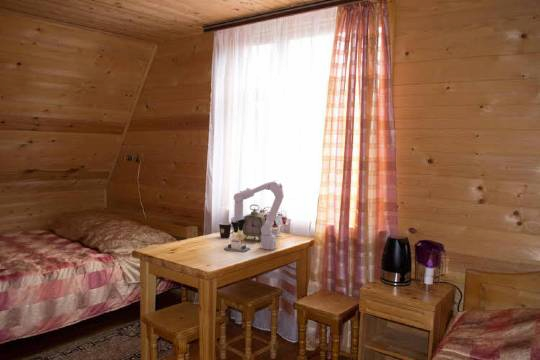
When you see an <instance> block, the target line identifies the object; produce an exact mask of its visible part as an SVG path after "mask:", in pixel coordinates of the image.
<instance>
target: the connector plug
mask: <svg viewBox="0 0 540 360" xmlns="http://www.w3.org/2000/svg"><path fill="white" fill-rule="evenodd" d="M230 244H231V248H234V249H240V248H241V247H242V240H241V239H232V240H231V243H230Z"/></svg>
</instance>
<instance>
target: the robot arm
mask: <svg viewBox="0 0 540 360" xmlns="http://www.w3.org/2000/svg"><path fill="white" fill-rule="evenodd" d="M265 190H266V191H267V190H268V191H271V193H273V195H274V197H275V198H274V200H273V203H272V205H271V208H270V211H269V213H268V216H267V217H266V219H265V224H264V225H263V226H262V227H261V232H262V233H261V236H260V239H261V241H260V246H259V247H258V249H262V250H264V249H265V250H270V251H272V250H274V249H276V248H277V235H275V234H273V232H272V231H273V230H274V223H275V219H276V217H277V214H278V212H279V210H280V207H281V204H282V203H283V199H284V191H283V185H282V183H281V182H280V181H279V180H274V181H269V182H265V183H264V184H263V183H262V184H261V185H258V186H256V187H254V188H251V187H246V189H244V190H240V191H239V192H236V193H235V194H234V195H233V200H234V205H233V206H234V209H233V210H234V212H233V213H234V215H233V216H232V220H231V222H230V223H231V226H233V227H232V228H233V229H232V230H233V231H234V232H233V233H234V234H235V233H238V231H240V232H241V231H242V232H243V226H244V223H245V221H246V220H244V216H245V215H244V200H247V199H250V198H253V197H254V195H255V194H256V193H259V192H262V191H265Z"/></svg>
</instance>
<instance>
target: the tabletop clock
mask: <svg viewBox="0 0 540 360" xmlns="http://www.w3.org/2000/svg"><path fill="white" fill-rule="evenodd" d="M252 206H255V207H258V208H257V209H256V208H251V207H252ZM249 209H250V210H251V212H250V213H249V214H246V215H243V216H244V220H246V221H245V223H244V226H243V230H242V234H243V235H244V236H245V237H244V238H243V239H244V240H245V241H246V240H247V238H248V237H253V240H256V238H257V237H258V241H259V242H261V233H262V232H261V227H262V226H263V225H264V224H265V222H266V218H265V216H264V215H262V214H259V213H258V211H259V210H260V205H258V204H250V205H249Z"/></svg>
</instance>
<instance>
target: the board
mask: <svg viewBox="0 0 540 360" xmlns="http://www.w3.org/2000/svg"><path fill="white" fill-rule="evenodd" d="M223 250H224V251H231V252H238V253H246V252H248V251H250V250H251V247H248V246H247V245H246V244H244V245H241V248H240V249H234V248H231V243H228V245H227V246H226V247H224V248H223Z"/></svg>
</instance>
